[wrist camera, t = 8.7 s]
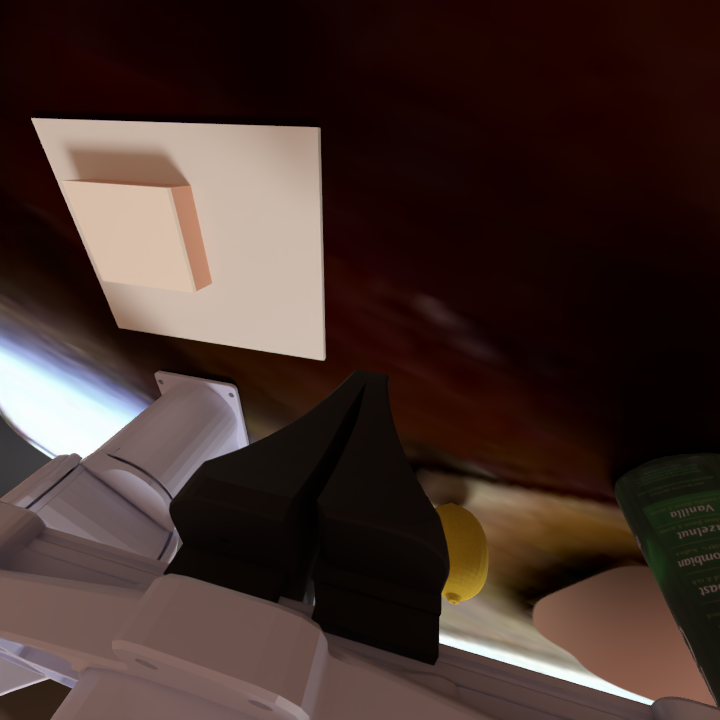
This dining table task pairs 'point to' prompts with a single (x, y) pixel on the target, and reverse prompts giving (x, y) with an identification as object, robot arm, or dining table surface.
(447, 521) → the lemon
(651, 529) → the coffee jar
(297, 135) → the mat
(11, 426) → the dining table surface
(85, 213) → the tile
